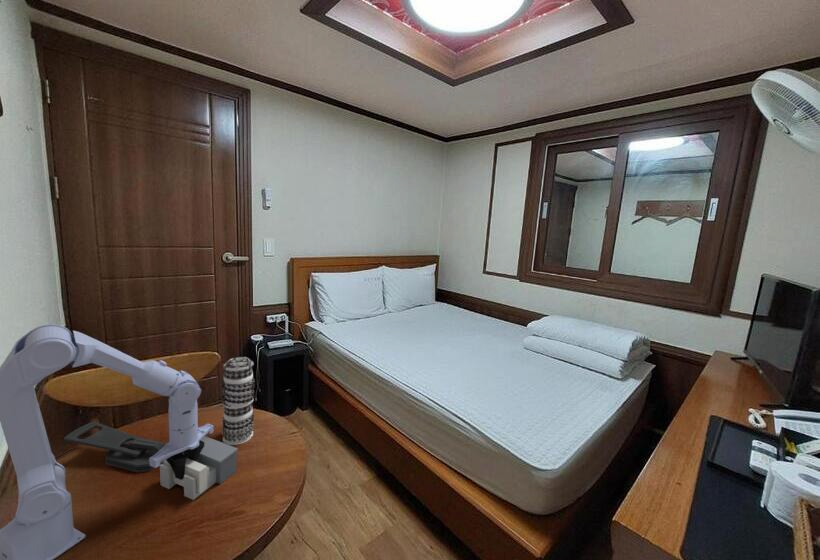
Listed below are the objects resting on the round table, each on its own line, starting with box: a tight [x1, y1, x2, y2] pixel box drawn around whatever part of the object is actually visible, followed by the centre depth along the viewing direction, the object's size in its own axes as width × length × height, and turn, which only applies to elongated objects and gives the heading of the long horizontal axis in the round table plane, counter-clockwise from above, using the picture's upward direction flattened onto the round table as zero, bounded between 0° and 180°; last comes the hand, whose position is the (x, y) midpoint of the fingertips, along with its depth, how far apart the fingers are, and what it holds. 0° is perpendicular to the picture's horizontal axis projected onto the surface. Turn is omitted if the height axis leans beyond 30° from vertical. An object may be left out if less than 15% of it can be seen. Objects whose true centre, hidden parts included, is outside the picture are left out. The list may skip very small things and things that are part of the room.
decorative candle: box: [220, 356, 256, 446], centre depth 99 cm, size 9×9×25 cm
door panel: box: [163, 458, 208, 494], centre depth 81 cm, size 12×2×6 cm, turn 71°
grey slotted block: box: [159, 435, 239, 501], centre depth 84 cm, size 11×14×7 cm
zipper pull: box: [63, 421, 167, 473], centre depth 89 cm, size 9×7×25 cm
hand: (184, 474), depth 81 cm, fingers closed on door panel, 2 cm apart
